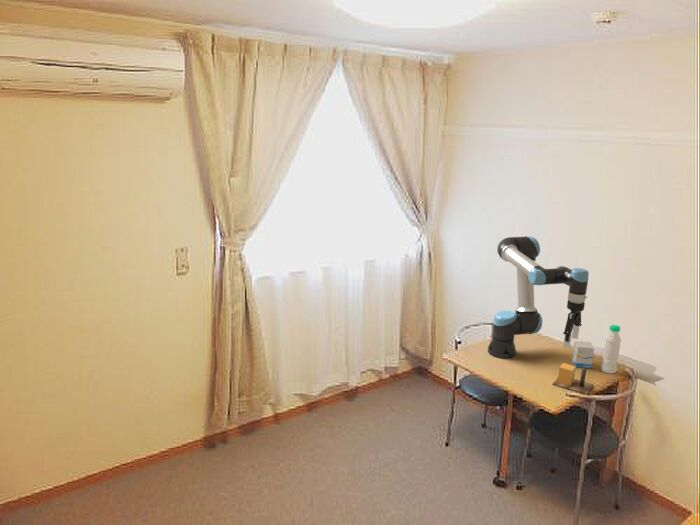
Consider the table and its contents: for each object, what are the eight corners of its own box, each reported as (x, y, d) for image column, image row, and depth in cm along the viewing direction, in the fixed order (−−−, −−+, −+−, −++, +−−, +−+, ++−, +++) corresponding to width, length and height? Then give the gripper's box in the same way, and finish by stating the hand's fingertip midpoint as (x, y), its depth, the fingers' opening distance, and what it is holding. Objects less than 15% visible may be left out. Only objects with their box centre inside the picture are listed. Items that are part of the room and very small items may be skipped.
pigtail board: (552, 384, 255) (554, 366, 252) (559, 376, 264) (562, 358, 261) (586, 395, 245) (589, 376, 243) (593, 385, 254) (596, 367, 252)
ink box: (591, 369, 272) (594, 348, 269) (574, 367, 274) (577, 346, 271) (588, 361, 280) (590, 341, 277) (571, 360, 282) (574, 340, 279)
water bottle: (609, 375, 265) (616, 329, 259) (597, 369, 271) (604, 324, 265) (618, 372, 268) (626, 327, 262) (606, 366, 274) (613, 322, 268)
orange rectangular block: (557, 382, 256) (559, 367, 254) (561, 377, 260) (563, 363, 258) (570, 385, 252) (572, 370, 250) (573, 381, 257) (575, 366, 255)
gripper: (577, 310, 234) (571, 353, 239) (591, 296, 253) (585, 336, 258) (560, 306, 238) (554, 348, 244) (575, 293, 257) (570, 332, 263)
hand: (570, 342), depth 251 cm, fingers open, 13 cm apart
